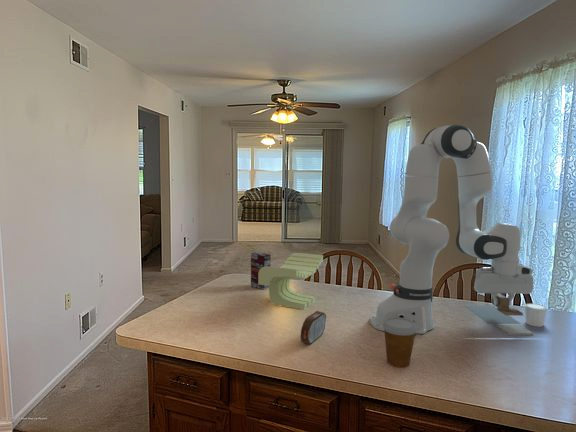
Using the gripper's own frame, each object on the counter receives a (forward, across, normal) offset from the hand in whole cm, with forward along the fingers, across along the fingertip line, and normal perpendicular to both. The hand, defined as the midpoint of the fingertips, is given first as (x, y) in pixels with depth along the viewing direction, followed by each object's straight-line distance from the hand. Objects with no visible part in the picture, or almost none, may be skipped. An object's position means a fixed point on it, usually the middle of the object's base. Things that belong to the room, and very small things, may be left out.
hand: (501, 304), depth 158 cm
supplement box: (+7, -90, +45) cm, 101 cm away
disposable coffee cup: (+7, -47, -33) cm, 58 cm away
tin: (+7, -70, -16) cm, 72 cm away
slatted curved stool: (+7, -76, +23) cm, 80 cm away
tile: (+6, 0, -9) cm, 11 cm away
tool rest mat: (+7, 0, +8) cm, 10 cm away
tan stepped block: (+1, 0, -1) cm, 2 cm away
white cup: (+7, +11, -2) cm, 13 cm away
